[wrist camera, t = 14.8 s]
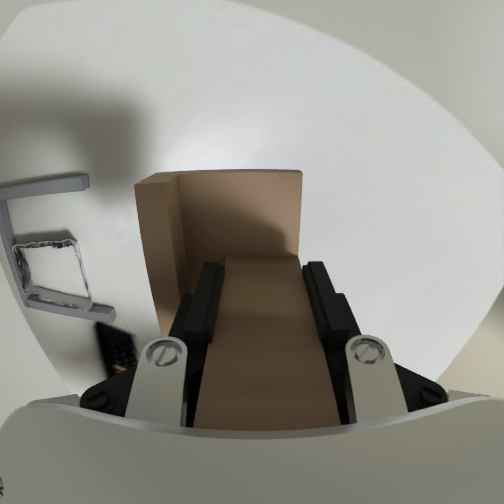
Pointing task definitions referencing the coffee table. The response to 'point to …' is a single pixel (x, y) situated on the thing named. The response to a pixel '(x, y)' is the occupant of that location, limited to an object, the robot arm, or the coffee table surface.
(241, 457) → the robot arm
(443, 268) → the coffee table surface
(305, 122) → the coffee table surface
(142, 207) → the tan l-shaped bracket
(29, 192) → the bay
